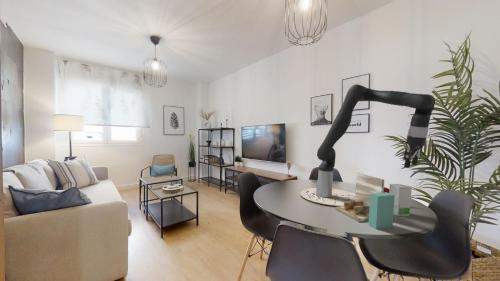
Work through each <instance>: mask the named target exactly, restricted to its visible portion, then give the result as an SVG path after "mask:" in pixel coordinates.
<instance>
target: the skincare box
mask: <svg viewBox="0 0 500 281" xmlns="http://www.w3.org/2000/svg"><path fill="white" fill-rule="evenodd" d="M388 189H389V193H390V194H393V195H395V198H394V213H393V216H396V217H401V216H402V217H407V216H409V217H410V216H411V203H412V198H411V197H412V190H413V189H412V186H410V185H406V184H403V183H389V188H388Z"/></svg>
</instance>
